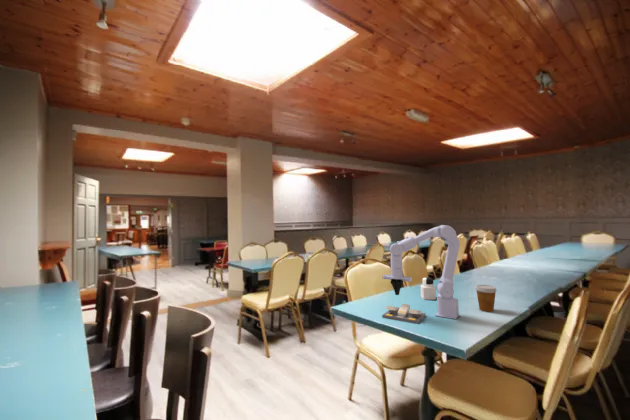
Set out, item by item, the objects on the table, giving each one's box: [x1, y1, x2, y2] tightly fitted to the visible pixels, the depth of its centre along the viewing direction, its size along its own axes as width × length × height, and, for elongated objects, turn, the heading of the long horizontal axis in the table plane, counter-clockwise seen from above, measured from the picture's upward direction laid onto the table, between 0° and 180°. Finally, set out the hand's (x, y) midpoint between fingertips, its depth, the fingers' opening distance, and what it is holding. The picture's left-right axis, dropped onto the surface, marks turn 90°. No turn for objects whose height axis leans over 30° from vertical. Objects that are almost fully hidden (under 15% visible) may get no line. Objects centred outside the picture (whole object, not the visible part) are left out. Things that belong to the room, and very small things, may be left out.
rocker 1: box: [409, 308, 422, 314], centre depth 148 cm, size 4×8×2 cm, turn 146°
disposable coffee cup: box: [475, 284, 497, 313], centre depth 159 cm, size 10×10×12 cm
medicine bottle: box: [420, 276, 437, 301], centre depth 184 cm, size 7×7×12 cm
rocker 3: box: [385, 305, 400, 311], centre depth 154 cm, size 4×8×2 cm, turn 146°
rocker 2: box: [397, 303, 411, 317], centre depth 151 cm, size 4×8×2 cm, turn 146°
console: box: [381, 310, 426, 325], centre depth 151 cm, size 17×13×2 cm
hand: (397, 294), depth 156 cm, fingers closed
